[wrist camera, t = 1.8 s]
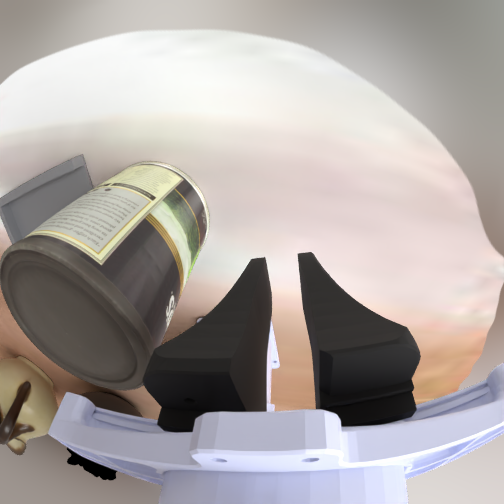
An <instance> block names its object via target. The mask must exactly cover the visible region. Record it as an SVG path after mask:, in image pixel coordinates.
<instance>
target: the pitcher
mask: <svg viewBox="0 0 504 504" xmlns="http://www.w3.org/2000/svg"><path fill="white" fill-rule="evenodd" d="M53 387H54V384H53V382H52V381H51V379H50V378H49V377H48V376H47V375H46V374H45V373H44V372H43V371H42V370H41V369H40V368H39V367H38V366H36V365H35V364H34V363H32V362H31V361H29V360H28V359H26V358H25V357H22V356H18V357H17V358H4V359H0V444H6V445H7V446H8V447H9V448H10V449H11V451H12V452H14V453H15V454H17V455H22V454H23V453H24V451H25V449H26V441H27V440H28V439H30V438H34V437H39V436H43V435H46V434H48V431H49V429H50V426H51V424H52V422H53V419H54V417H55V415H56V413H57V411H58V404H57V400H56V397H55V394H54V392H53Z"/></svg>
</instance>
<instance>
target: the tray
mask: <svg viewBox="0 0 504 504" xmlns="http://www.w3.org/2000/svg"><path fill="white" fill-rule="evenodd" d="M92 189H93V186H92V183H91V179H90V176H89V173H88V170H87V167H86V163H85V160H84V157H83V154H82V155H80V156H77V157H75V158H73V159H70V160H68V161H66V162H64V163H62V164H60V165H58V166H56V167H54V168H52V169H50V170H48V171H46V172H44V173H42V174H41V175H39V176H37V177H35V178H33V179H31V180H30V181H28V182H26V183H24V184H23V185H21V186H19V187H18V188H16V189H14V190H13V191H11V192H9V193H8V194H6V195H5V196H3V197H2V198H0V216H1V219H2V221H3V224H4V226H5V229H6V231H7V233H8V236H9V238H10V240H11V242H12V245H13V244H14V243H16V242H17V241H19V240H21V239H24V238H25V237H26V236H27V235H29V234H30V233H31V232H32V231H34V230H35V229H36V228H37V227H39V226H40V225H41V224H43V223H44V222H45V221H47V220H48V219H49V218H51V217H52V216H54V215H55V214H56V213H58V212H59V211H61V210H62V209H63V208H65V207H66V206H68V205H69V204H71V203H72V202H74V201H75V200H77V199H78V198H80V197H81V196H83V195H84V194H86V193H87V192H89V191H91V190H92Z"/></svg>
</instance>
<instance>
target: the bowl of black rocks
mask: <svg viewBox="0 0 504 504" xmlns="http://www.w3.org/2000/svg"><path fill="white" fill-rule="evenodd" d="M79 395H81V396H83V397H85V398H87V399H89V400H90V401H91V402H92V403H93V404H94V405H95V407H98V408H102V409H106V410H110V411H114V412H118V413H123V414H127V415H132V416H137V417H142V415H141V414H140V413H139V412H138V411H137V410H136V409H135V408H134V407H133V406H132V405H130V404H129V403H128V402H126V401H125V400H123V399H121V398H119V397H117V396H114V395H112V394H108V393H104V392H86V393H82V394H79ZM142 418H143V417H142ZM67 450H68V451H69V452H70V453H71V457H70V458H69V459H68V461H67V462H68V464H71V465H77V464H79V465H80V466H83V468H84V470H86V471H88V472H89V473H91V474H93V475H94V476H95V477H98V476H100V477H101V478H102V479H103V480H106V479H108V480H114V479H115V478H116V472H117V471H116V470H114V469H111V468H108V467H106V466H103V465H101V464H99V463H96V462H94V461H91V460H89V459H87V458H84V457H82V456H80V455H79V454H77V453H76V452H74V451H72V450H71V449H69V448H68V447H67Z"/></svg>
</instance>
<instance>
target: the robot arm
mask: <svg viewBox="0 0 504 504" xmlns="http://www.w3.org/2000/svg"><path fill="white" fill-rule="evenodd" d="M298 262H299V272H300V283H301V293H302V303H303V310H304V315H305V320H306V325H307V330H308V334H309V339H310V344H311V350H312V359H313V371H314V385H315V401H316V409H303V410H290V411H274V404H270V398H271V372H272V369H273V368H279V367H280V363H279V357H278V352H277V347H276V341H275V336H274V331H273V325H272V320H271V316H272V292H271V287H270V281H269V275H268V270H267V264H266V259H265V257H264V258H255V259H251V261H250V262H249V264H248V265H247V267H246V268H245V270H244V271H243V273H242V275H241V276H240V277H239V279H238V280H237V282H236V283H235V284H234V286H233V287H232V289H231V290H230V291H229V292H228V293H227V295H226V296H225V297H224V298H223V299H222V301H221V302H220V303H219V304H218V305H217V306H216V307H215V308H214V309H213V310H212V311H211V312H210V313H208V314H207V315H206V316H205V317H204V318H199V319H198V320H197V323H196V324H195V325H194V326H192V327H191V328H189V329H188V330H187V331H185V332H183V333H182V334H180V335H179V336H177V337H175V338H174V339H172V340H170V341H168V342H166V343H164V344H163V345H161V346H159V347H157V348H155V349H154V351H153V353H152V355H151V357H150V360H149V363H148V365H147V368H146V371H145V374H144V376H143V379H142V380H143V385H144V386H145V388H146V389H147V391H148V392H149V393H150V394H151V396H152V397H153V398H154V399H155V400H156V401H157V402H158V403H159V405H160V406H161V407H162V408H161V411H160V415H159V418H158V420H154V419H148V418H142V417H137V416H132V415H127V414H123V413H118V412H114V411H110V410H106V409H102V408H98V407H95V405H94V404H93V403H92V402H91V401H90V400H89V399H87V398H85V397H83V396H81V395H77V394H74V393H71V392H66V394H65V396H64V398H63V400H62V402H61V404H60V406H59V409H58V411H57V413H56V415H55V417H54V419H53V422H52V424H51V426H50V429H49V431H48V433H49V435H51V436H52V437H53V438H55V439H56V440H58V441H59V442H60V443H62V444H63V445H65V446H66V447H68V448H69V449H71V450H72V451H74V452H76V453H77V454H79V455H80V456H82V457H84V458H87V459H89V460H91V461H94V462H96V463H99V464H101V465H103V466H106V467H108V468H111V469H114V470H116V471H119V472H122V473H124V474H127V475H130V476H133V477H136V478H139V479H142V480H145V481H149V482H152V483H155V484H159V485H162V489H161V493H160V497H159V502H158V504H408V496H407V488H406V479H408V478H411V477H414V476H417V475H420V474H422V473H425V472H427V471H430V470H432V469H435V468H437V467H440V466H442V465H444V464H446V463H449V462H451V461H453V460H455V459H457V458H459V457H461V456H463V455H465V454H467V453H469V452H471V451H473V450H475V449H477V448H479V447H481V446H482V445H484V444H486V443H488V442H489V441H491V440H493V439H495V438H496V437H498V436H500V435H501V434H503V433H504V363H502V364H499V365H498V366H496V367H495V368H494V369H493V370H492V371H491V372H490V373H489V375H488V377H487V379H486V380H483V381H481V382H479V383H477V384H474V385H472V386H469V387H467V388H464V389H462V390H459V391H457V392H454V393H451V394H449V395H446V396H443V397H440V398H437V399H434V400H431V401H428V402H424V403H421V404H418V405H416V404H415V401H414V397H413V394H412V391H413V390H414V385H413V382H412V377H413V375H414V373H415V370H416V368H417V366H418V364H419V361H420V357H421V356H420V351H419V349H418V346H417V344H416V342H415V340H414V338H413V336H412V335H411V333H410V331H409V330H408V328H407V327H405V326H402V325H400V324H398V323H395V322H393V321H390V320H388V319H386V318H384V317H382V316H380V315H378V314H376V313H375V312H373V311H371V310H370V309H368V308H366V307H365V306H363V305H362V304H360V303H359V302H357V301H356V300H355V299H354V298H352V297H351V296H350V295H349V294H347V293H346V292H345V291H344V290H343V289H342V288H341V287H340V286H339V285H338V284H337V283H336V282H335V281H334V280H333V279H332V278H331V277H330V275H329V274H328V273H327V272H326V271H325V270H324V268H323V267H322V266H321V264H320V263H319V262H318V260H317V259H316V257H315V256H314V254H313V253H312V252H308V253H299V254H298Z"/></svg>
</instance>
